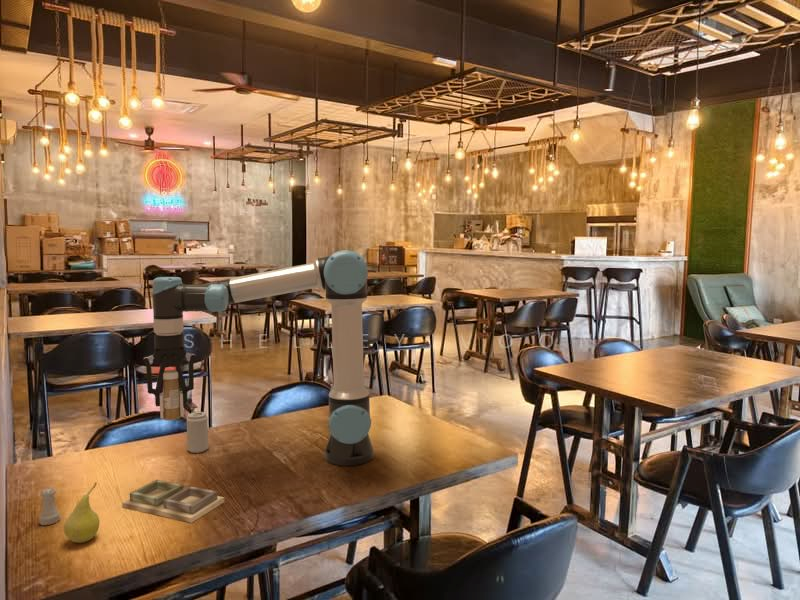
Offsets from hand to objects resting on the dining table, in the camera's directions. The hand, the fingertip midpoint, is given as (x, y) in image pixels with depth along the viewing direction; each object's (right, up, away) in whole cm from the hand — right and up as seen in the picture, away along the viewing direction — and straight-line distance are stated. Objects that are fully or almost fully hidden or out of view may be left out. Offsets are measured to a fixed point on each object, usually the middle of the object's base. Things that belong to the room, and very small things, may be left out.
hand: (172, 416), depth 157 cm
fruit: (-7, -22, -30) cm, 38 cm away
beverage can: (-2, -17, +25) cm, 30 cm away
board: (+6, -20, -13) cm, 24 cm away
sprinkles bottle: (0, -1, 0) cm, 1 cm away
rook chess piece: (-20, -21, -22) cm, 37 cm away
